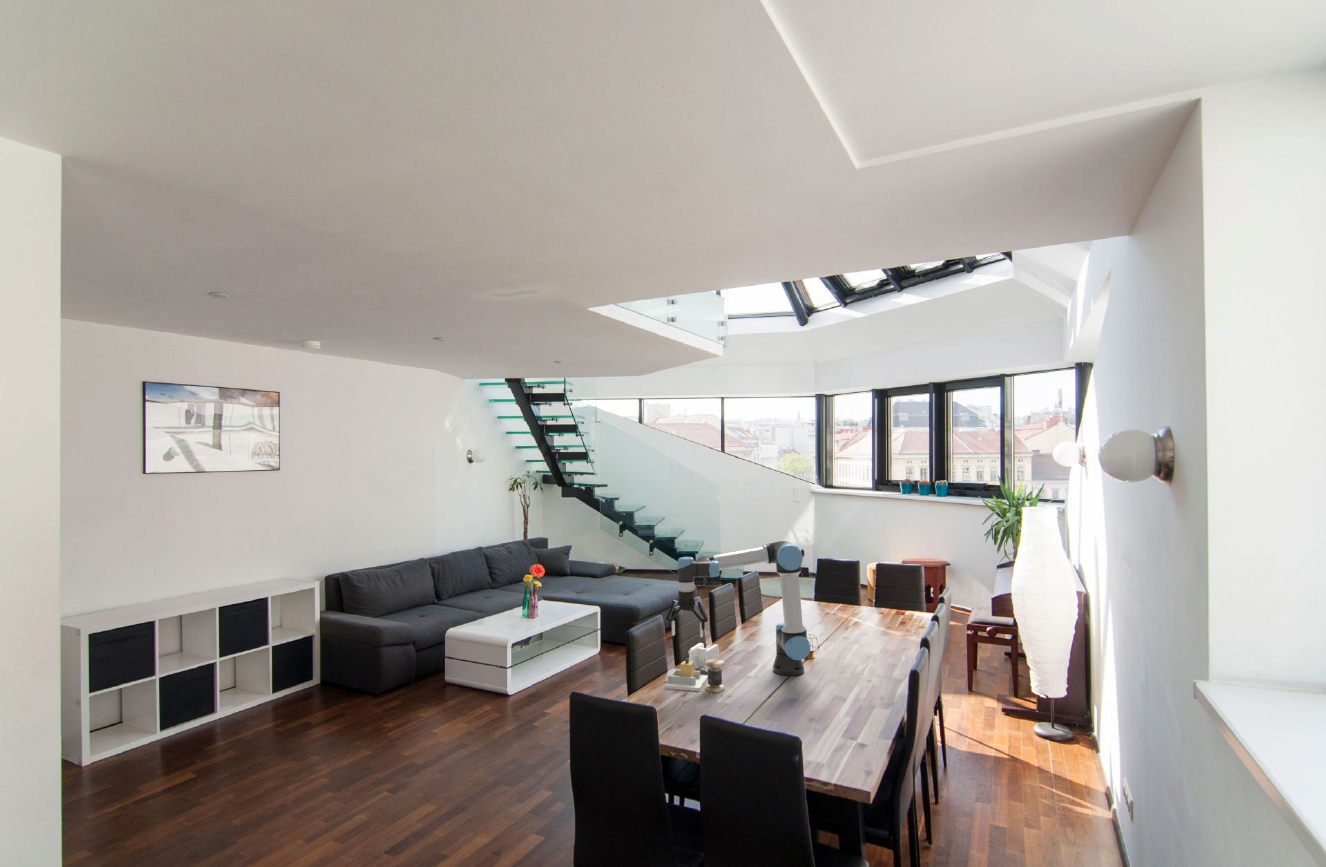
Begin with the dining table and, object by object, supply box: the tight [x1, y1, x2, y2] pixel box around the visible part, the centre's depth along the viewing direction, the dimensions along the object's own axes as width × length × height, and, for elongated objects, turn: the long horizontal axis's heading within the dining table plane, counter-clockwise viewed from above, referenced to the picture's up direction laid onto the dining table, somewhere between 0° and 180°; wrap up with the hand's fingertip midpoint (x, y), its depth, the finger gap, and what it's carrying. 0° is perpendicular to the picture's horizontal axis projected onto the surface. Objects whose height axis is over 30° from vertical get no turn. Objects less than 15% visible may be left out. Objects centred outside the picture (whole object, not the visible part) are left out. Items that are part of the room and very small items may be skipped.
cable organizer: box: [688, 642, 720, 673], centre depth 334 cm, size 15×11×12 cm
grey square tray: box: [665, 668, 708, 692], centre depth 314 cm, size 16×18×4 cm
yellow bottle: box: [680, 657, 694, 677], centre depth 314 cm, size 5×5×10 cm
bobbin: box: [704, 659, 726, 693], centre depth 306 cm, size 9×9×12 cm
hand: (687, 636), depth 314 cm, fingers open, 13 cm apart
